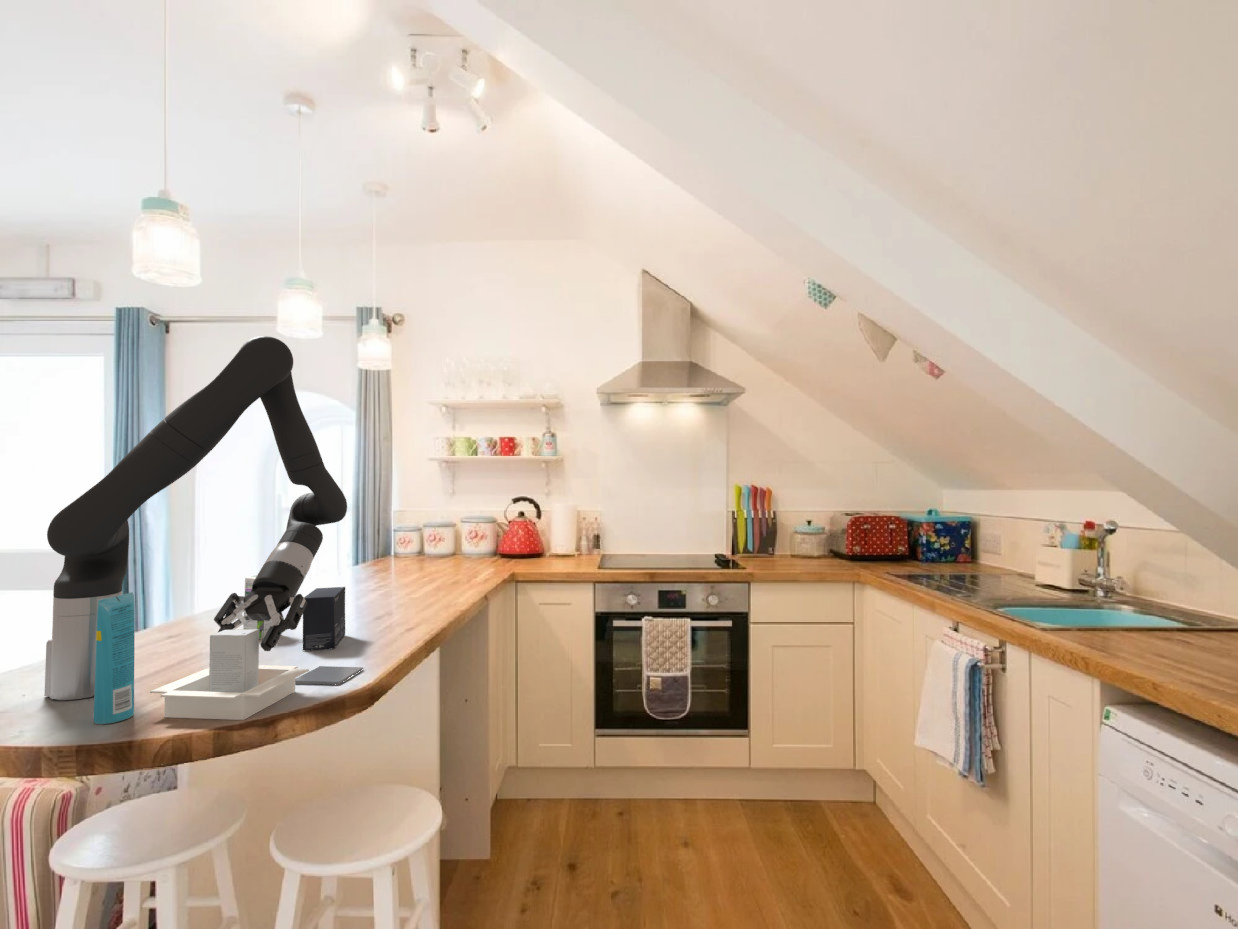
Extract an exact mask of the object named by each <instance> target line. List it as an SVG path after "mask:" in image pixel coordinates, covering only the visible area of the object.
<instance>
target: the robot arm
mask: <svg viewBox="0 0 1238 929" xmlns="http://www.w3.org/2000/svg"><path fill="white" fill-rule="evenodd" d="M293 367H294V357H293V353H292V351H291V349H290V348H289V346H288V345H287V344H286V343H285V342H283V341H282V340H280V339H278V338H276V337H273V336H269V335H268V336H267V335H262V336H255V337H252V338H250V339H248V340H246V341H245V342H244V343H243V344H242V346H241V347H240V348H239V350H238V351H237V353H236V354H235V355H234V356H233V358H232V359H231V360H230V361H229V362H228V363H227V365H226V366H225V367H224V368H223V369H222V370H221V371H220V372H219V374H218V375H216V377H215V378H214V379H213V380H212V381H211V382H209V383H208V384H207V385H206V386H205V387H203V388H202V389H200V390H199V391H198V392H196V393H194V394H193V395H191V396H190V397H189V398H187V399H186V400H185V401H184V402H182V403H181V404H180V405H178V406H177V407H176V408H175V409H173V411H171V412H169V413H168V414H167V415H166V416H165V417H164V418H163V419H162V420H161V421H160V422H159V423H158V424H157V425H156V426H154V427H153V429H151V430H150V431H149V432H148V433H147V434H146V435H145V436H144V437H143V438H142V439H141V440H140V441H139V442H138V443H137V444H136V445H135V446H134V447H133V448H132V449H131V450H129V452H128V453H127V454H126V455H125V456H124V457H123V458H122V459H121V460H120V461H119V462H118V463H117V464H116V466H115V467H114V468H112V470H110V472H108V473H107V475H105V476H104V477H103V478H102V479H100V481H98V482H97V483H96V484H95V485H93V486H92V487H90V488H89V489H88V490H86V491H84V493H82V494H81V495H80V496H78V498H76V499H75V500H73V501H72V502H71V503H70V504H68V505H67V506H65V507H64V508H63V509H62V510H61V509H60V511H59V512H58V513H57V514H55V515H54V517H53V518H52V520H51V521H50V523H49V526H48V527H47V532H46V537H47V543H48V544H49V547H50V548H51V549H52V550H53V551H54V552H55V553H57V554H59V555H61V556H63V557H64V562H63V567H62V569H61V572H60V573H59V576H58V577H57V579H55V581H54V583H53V594H52V595H53V598H52V599H53V601H52V604H53V605H52V630H51V632H52V633H51V639H48V640H47V642H46V645H45V672H44V674H45V676H44V697H49V699H50V700H53V699H58V700H57V701H71V700H72V701H73V700H79V699H86V698H92V697H95V668H96V632H97V613H98V600H102V599H106V598H111V597H116V596H120V595H123V582H124V579H125V576H126V574H127V570H128V562H129V550H130V549H129V548H130V547H129V545H130V524H129V522H128V520H129V519H130V517H132V516H133V514H134V513H135V512H136V511H137V510H138V509H139V508H140V507H141V506H142V505H143V504H145V503H146V502H147V501H148V500H149V499H151V498H152V497H153V496H155V495H156V494H158V493H160V492H161V491H162V490H164V489H165V488H167V487H169V486H170V485H172V484H174V483H175V482H176V481H178V480H179V479H180V478H182V477H184V475H186V474H188V473H189V472H190V471H191V470H192V469H194V468H195V467H196V466H197V465H198V464H199V463H200V462H201V461H203V459H204V458H205V457H206V456H208V455H209V453H211V452H212V451H213V449H215V447H216V446H217V445H218V444H219V443H220V442H221V441H222V439H223V438H224V437H225V436H226V435H227V434H228V432H229V431H231V429H232V428H233V426H234V425H235V424H236V422H237V421H238V420H239V418H240V417H241V416H242V414H244V412H245V411H247V409H248V408H249V407H251V405H253V404H254V403H255V402H256V401H257V400H259V399H260V401H261V403H262V405H263V407H264V410H265V413H266V415H267V417H268V421H269V423H270V426H271V427H270V428H271V430H272V433H273V436H274V441H275V443H276V446H277V450H278V453H279V456H280V458H281V461H282V463H283V466H284V469H285V471H286V474H287V476H288V479H289V481H290V483H292V484H294V485H295V486H296V485H297V486H305V487H307V488H309V491H310V492H309V493H304V494H302V495H300V496H298V498H296V499H294V502H293V503H292V505H291V507H290V510H289V515H288V519H287V524H286V530H285V532H284V533H283V534H282V536H281V538H280V540H279V541H278V543H277V545H276V546H275V547H274V549H273V550H272V551H271V552H270V553H269V555H268V557H267V558H266V560H265V561H264V564H263V565H262V567H261V569H260V570H259V572H258V573H257V574H256V575H257V577H256V578H255V580H254V582H253V585H252V590H251V592H250V593H249V594H248V595H246V596H245V595H242V596H241V595H238V594H237V593H236V592H232V593H231V594H230V595H229V596H228V597H227V599H226V600H225V602H224V603H223V605H222V606H221V608H220V609H219V611H218V612H217V613H216V615H215V616H214V617H213V621H214V623H216V624H217V625H218V627H219V629H218V631H217V633H218V632H221V631H223V630H238V628H239V627H241V626H243V625H245V624H247V623H249V622H250V621H252V620H265V621H269V620H270V619H272V623H273V626H270V628H269V630H268V631H267V633H266V635H265V637H264V638H262V641H261V643H260V647H261V648H262V650H263V651H264V652H270V651H271V650H272V649H273V648H275V646H276V645H277V643H278V642H279V639H280V637H281V635H282V634H283V633H285V632H286V630H292V631H294V630H297V627H298V625H299V624H300V621H301V619H302V618H303V612H304V610H305V607H306V605H307V602H306V600H305V599H304V597H305V596H303V594H301V593H298V592H299V590H300V588H301V586H302V585H303V583H304V580H305V578H306V576H307V575H308V572H309V571H310V569H311V565H312V563H313V561H314V559H315V556H316V555H317V553H318V551H319V549H320V547H321V545H322V543H323V540H324V538H323V536H324V534H323V532H322V531H321V529H320V528H319V527H317V526H322V525H323V526H324V525H328V524H329V525H330V524H335V523H338V522H340V521H342V520H343V519H344V518H345V517H346V515H347V512H348V502H347V499H346V496H345V494H344V493H343V491H342V490H341V488H340V486H339V485H338V484H337V482H336V480H334V478H333V476H332V475H331V474H330V472H329V471H328V470H327V468H326V466H325V463H324V460H323V458H322V455H321V453H320V449H319V447H318V446H319V445H318V444H317V442H316V439H315V436H314V434H313V432H312V430H311V428H310V425H309V423H308V421H307V420H306V417H305V415H304V413H303V411H302V408H301V406H300V403H299V400H298V397H297V393H296V390H295V386H294V380H293V375H292V374H293V373H292V370H293ZM297 593H298V594H297ZM286 609H288V610H287V613H286V616H285V618H284V614H283V612H284V611H285V610H286ZM244 611H246V614H247V616H245V617H244V615H243V614H244Z"/></svg>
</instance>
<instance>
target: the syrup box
mask: <svg viewBox="0 0 1238 929" xmlns="http://www.w3.org/2000/svg"><path fill="white" fill-rule="evenodd" d="M257 575H258V574H256V575H250V576H247V577H245V578H244V596H246V595H248V594H249V593H250V592H251V590H252V585H253V582H254V580H255V578H256V577H257ZM243 616H244V617H245V616H247V614H246V611H244V612H243ZM242 626H243V627H242V628H243V629H242V630H250V629H259V640H261V638H262V639H264V637H265V635H266V633H267V631H268V630H269V628H270V626H273V623H272V619H270V620H269V621H265V620H252V621H250V622H249V623H247V624H245V625H242Z"/></svg>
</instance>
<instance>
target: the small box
mask: <svg viewBox="0 0 1238 929" xmlns="http://www.w3.org/2000/svg"><path fill="white" fill-rule="evenodd" d="M303 597H304V599H305V600H306V602H307V605H306V607H305V610H304V612H303V614H302V651H303V650H310V651H323V650H325V649H326V650H335V649H336V647H337V646H338V645H339V644H340V642H341V641H342V639H343V638H344V637H345V635H346V586H336V587H335V586H334V587H318V588H315V589H314V590H312V591H311V592H309V593H308V594H306V595H305V596H303ZM326 650H325V651H326Z"/></svg>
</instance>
